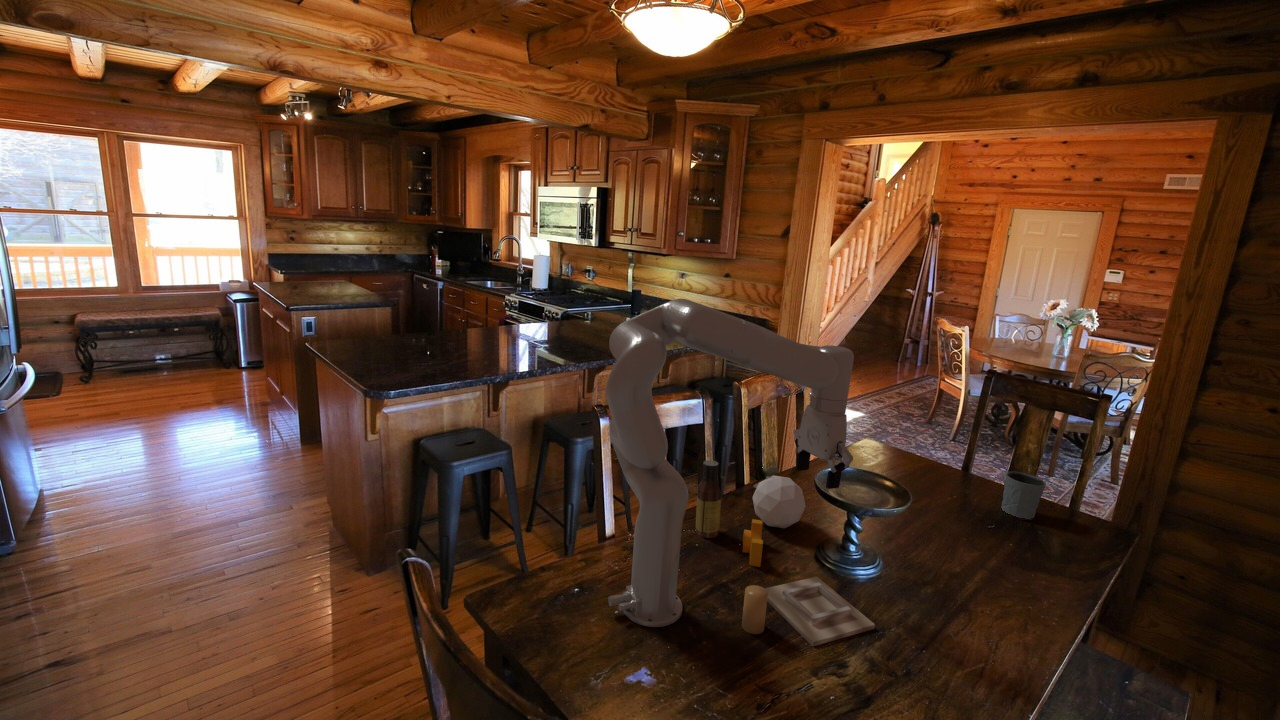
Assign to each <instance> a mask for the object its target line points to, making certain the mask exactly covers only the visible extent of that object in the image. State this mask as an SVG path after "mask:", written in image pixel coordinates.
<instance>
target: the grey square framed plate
mask: <svg viewBox="0 0 1280 720" xmlns="http://www.w3.org/2000/svg"><path fill="white" fill-rule="evenodd" d="M764 589H766V590H767V592H768V598H767V604H769V605H771V606H772V608H773V609H775V611H776V612H777V613H778V614H779V615H780V616H781V617H782V618H783V619H785V620H786V622H788V624H790V625H791V626H792V627H793V628H794V629H795V630H796V632H798V633H799V634H800V635H801V637H803V639H805V640H806V641H807V642H808V643H809V644H810V645H811V646H812V647H815V646H819V645H823V644H826V643H831V642H833V641H836V640H841V639H844V638H847V637H851V636H854V635H857V634H860V633H865V632H868V631H872V630H875V627H876V624H875V623H874V622H872V620H870V619H869V618H868V617H866V616H865V615H864V614H863V613H862V612H860V611H859V610H858V609H857V608H856V607H854V605H852V604H851V603H850V602H848V601H847V600H846V599H845V598H843V597H842V596H841V595H840V594H839V593H837V591H835V590H834V589H833V588H831V587H830V586H829V585H828V584H827V583H825V582H824V581H823V580H822V579H821V578H819V577H818V576H813V577H807V578H804V579H801V580H800V579H799V580H795V581H791V582H787V583H783V584H782V583H781V584H779V585H773V586H769V587H764Z"/></svg>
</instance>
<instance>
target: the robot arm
mask: <svg viewBox="0 0 1280 720" xmlns="http://www.w3.org/2000/svg"><path fill="white" fill-rule="evenodd" d="M608 342H609V343H608V344H609V350H610V353H611V355H612V356H613V358H614V359H615V360H616V362H615V363H614V365H613V366H612V369H611V370H610V373H609V375H608V379H607V381H606V385H605V398H606V400H607V401H606V403H607V406H608V409H609V412H610V414H611V417H612V419H611V421H610V424H609V436H610V441H611V444H612V447H613V449H614V451H615V454H616V457H617V460H618V463H619V465H620V468H621V469H622V473H623V475H624V478H625V480H626V482H627V483H628V485H629V487H630V489H631V490H632V492H633V493H634V495H635V497H636V498H637V500H638V502H639V510H638V514H637V517H636V521H635V525H634V532H633V533H634V534H633V535H634V536H633V548H632V550H633V551H632V554H633V555H632V566H631V580H630V581H631V582H630V584H628V585H626V586H625V591H622V593H620V594H615V595H614V594H613V595H609V596H608V597H607V603H608V606H609V607H613V606H618V611H619V612H623V613H624V615H625V616H626V617H627V618H628V619H629V620H630V621H632V622H634V623H636V624H637V625H640V626H644V627H650V628H661V627H666V626H670V625H671V624H674V623H675V622H677V621H678V620H679V619H680V618H681V616H682V613H683V602H682V601H681V598H680V597H679V596H678V595H677V589H678V588H677V587H678V576H679V566H680V565H679V563H680V554H681V553H680V552H681V543H682V542H681V540H682V530H683V523H684V518H685V514H686V511H687V508H688V504H689V491H688V486H687V484H686V482H685V479H683V477H682V475H681V474H680V473H679V471H678V470H677V469H675V467H674V466H673V465H672V464H671V463H670V462H669V461H668V460H667V459H666V457H667V455H668V449H669V444H668V438H667V434H666V432H665V430H664V427H663V425H662V422H661V419H660V417H659V414H658V410H657V408H656V404H655V401H654V397H653V392H652V389H653V384H654V382H655V380H656V378H657V376H658V375H659V373H661V370H662V369H663V367H664V366H665V363H666V361H667V355H668V350H667V346H669V345H671V344H673V343H675V342H677V343H679V344H681V345H683V346H686V347H688V348H691V349H693V350H695V351H698V352H702V353H704V354H709V355H711V356H714V357H716V358H720V359H723V360H726V361H729V362H732V363H735V364H737V365H740V366H742V367H743V366H744V367H746V368H748V369H751V370H753V371H758V372H761V373H764V374H765V373H766V374H769V375H771V376H774V377H777V378H780V379H783V380H786V381H788V382H791V383H794V384H797V385H800V386H802V387H806V388H809V389H810V393H809V403H808V404H807V405H806V407H805V409H804V412H803V414H802V418H801V422H800V427H799V428H797V429H794V430H793V434H794V435H793V436H794V443H795V446H796V450H795V451H796V453H798V454H797V460H796V466H795V470H796V471H797V472H802V471H808V470H809V469H810V462H811V455H812V456H814V457H816V458H817V459H820V460H821V461H827V463H828V465H829V468H830V470H828V471H827V477H826V483H825V484H826V485H825V488H826V489H827V490H834V489H838V488H840V483H841V479H842V472H845V470H847V469H848V468H849V467H850V465H851V464H852V462H853V460H854V456H853V454H851V452H850V451H849V449H848V448H847V447H846V446H847V445H846V442H847V433H848V432H847V431H848V430H847V429H848V424H847V423H848V421H847V419H848V418H847V414H846V411H847V405H848V400H849V399H848V398H849V397H848V396H849V392H850V386H851V379H852V372H853V366H854V359H855V355H854V351H852V350H851V349H849V348H847V347H843V346H840V345H831V344H830V345H822V346H821V345H820V346H817V345H811V344H804V343H800V342H797V341H795V340H791V339H790V338H787V337H784V336H782V335H780V334H778V333H776V332H774V331H771V330H769V329H768V328H766V327H763V326H761V325H758V324H756V323H753V322H752V321H751V322H750V321H747V320H745V319H743V318H739V317H737V316H735V315H732V314H729V313H726V312H724V311H721V310H718V309H715V308H712V307H710V306H708V305H704V304H702V303H698V302H696V301H692V300H690V299H686V298H677V299H676V298H675V299H673V300H669V301H668V302H664V303H663V304H660V305H657V306H656V307H654V308H651V309H649V310H646V311H645V312H642V313H641V314H638V315H635V316H633V317H631V318H629V319H627V320H625V321H624V322H621V323H620V324H619V325H617V326H616V327H615V328H614V329H613V330H612V332H611V334H610V337H609V341H608ZM835 462H836V463H835Z"/></svg>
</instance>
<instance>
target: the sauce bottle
mask: <svg viewBox="0 0 1280 720" xmlns="http://www.w3.org/2000/svg"><path fill="white" fill-rule="evenodd" d="M702 468H703V473H702V479H701V480H700V482H699V484H698V486H697V496H696V510H695V511H696V514H695V533H696V534H697V535H698V536H700V537H702V538H705V539H714V538H716V537H718V535H719V530H720V526H721V525H720V523H721V508H722V507H721V505H722V492H721V488H720V484H719V480H718V478H719V477H718V472H719V468H720V464H719V462H718V461H716V460H711V459H710V460H709V459H708V460H707V459H706V460H704V461H703V463H702Z"/></svg>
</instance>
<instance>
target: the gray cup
mask: <svg viewBox="0 0 1280 720" xmlns="http://www.w3.org/2000/svg"><path fill="white" fill-rule="evenodd" d="M1046 485H1047V482H1046V481H1044V480H1043V479H1042V478H1040V477H1038V476H1036V475H1032V474H1029V473H1025V472H1021V471H1020V472H1019V471H1007V472H1006V473H1005V480H1004V487H1003V488H1004V489H1003V494H1002V501H1001V507H1000V509H1001V508H1002V510H1003V511H1005V512H1006V513H1008V514H1011V515H1013V516H1016V517H1019V518H1025V519H1031V518H1035V515H1036V513H1037V512H1036V511H1037V510H1038V509H1037V508H1038V507H1039V503H1040V500H1041V498H1042V496H1043V493H1044V491H1045V488H1046Z"/></svg>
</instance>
